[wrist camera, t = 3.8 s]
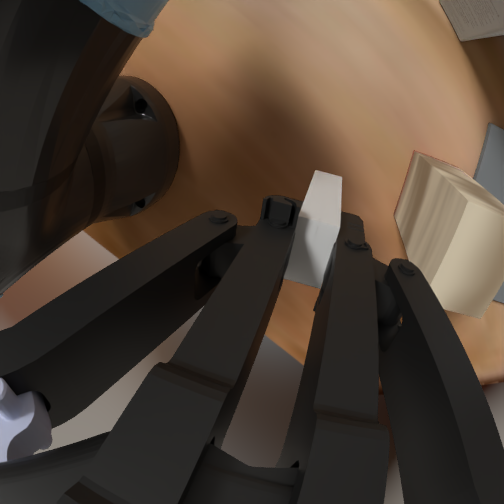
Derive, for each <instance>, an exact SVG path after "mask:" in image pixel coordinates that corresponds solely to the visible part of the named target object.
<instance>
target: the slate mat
mask: <svg viewBox="0 0 504 504" xmlns="http://www.w3.org/2000/svg"><path fill="white" fill-rule="evenodd" d="M473 179H474V180H475V181H476V182H478V183H479V184H480V185H481V186H482V187H484V188H485V189H486V190H487V191H488V192H490V193H491V194H492V195H493V196H494V197H495V198H497V199H498V200H499V201H500V202H501V203H502V204H503V205H504V130H503V129H501V128H499V127H498V126H496V125H494V124H492V123H489V124H488V129H487V133H486V137H485V140H484V144H483V148H482V151H481V155H480V158H479V162H478V165H477V168H476V171H475V174H474V177H473ZM493 300H495V301H498V302H502V303H504V282H503V283H502V285H501V287H500V289H499V290H498V292H497V294H496V295H495V297H494V299H493Z"/></svg>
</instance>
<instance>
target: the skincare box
mask: <svg viewBox="0 0 504 504" xmlns="http://www.w3.org/2000/svg"><path fill="white" fill-rule="evenodd" d="M439 2H440V4H441V5H442V7H443V9H444V11H445V13H446V15H447V17H448V18H449V20H450V22H451V24H452V26H453V28H454V30H455V32H456V34H457V36H458V38H459V40H460V41H468V40H474V39H481V38H487V37H494V36H501V35H504V0H439Z"/></svg>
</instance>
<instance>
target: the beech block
mask: <svg viewBox="0 0 504 504" xmlns="http://www.w3.org/2000/svg"><path fill="white" fill-rule="evenodd" d="M394 217H395V220H396V222H397V225H398V228H399V231H400V234H401V237H402V240H403V243H404V246H405V249H406V253H407V256H408V259H409V262H412V263H413V264H414V265H416V266H417V267H418V268H419V269H420V270H421V272H422V273H423V275H424V277H425V278H426V280H427V281H428V283H429V285H430V286H431V288H432V290H433V292H434V293H435V295H436V297H437V298H438V300H439V302H440V304H441V305H442V307H443V309H445V310H449V311H452V312H456V313H460V314H463V315H467V316H471V317H475V318H478V319H481V317H482V316H483V314H484V313H485V311H486V310H487V308H488V306H489V305H490V303H491V302H492V300H493V299H494V297H495V295H496V294H497V292H498V290H499V289H500V287H501V285H502V283H503V282H504V205H503V204H502V203H501V202H500V201H499V200H498V199H497V198H495V197H494V196H493V195H492V194H491V193H490V192H488V191H487V190H486V189H485V188H484V187H482V186H481V185H480V184H479V183H478V182H476V181H475V180H474V179H473V178H471V177H470V176H469V175H467V174H466V173H465V172H464V171H462V170H461V169H460V168H458V167H456V166H453V165H451V164H448V163H446V162H444V161H441V160H439V159H436V158H433V157H431V156H428V155H426V154H423V153H420V152H418V151H415V150H414V151H413V154H412V158H411V161H410V165H409V168H408V172H407V175H406V178H405V181H404V185H403V188H402V191H401V194H400V197H399V200H398V203H397V206H396V209H395V212H394Z"/></svg>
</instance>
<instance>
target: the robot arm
mask: <svg viewBox="0 0 504 504" xmlns="http://www.w3.org/2000/svg"><path fill="white" fill-rule="evenodd" d="M168 1H169V0H0V298H1V297H2V296H3V293H4V292H5V291H6V290H7V289H8V288H9V287H10V286H12V285H13V284H14V283H15V282H16V281H17V280H19V279H20V278H21V277H22V276H23V275H25V274H26V273H27V272H28V271H29V270H31V269H32V268H33V267H34V266H36V265H37V264H38V263H39V262H41V261H42V260H43V259H45V258H46V257H47V256H48V255H50V254H51V253H52V252H53V251H55V250H56V249H58V248H59V247H60V246H62V245H63V244H64V243H65V242H67V241H68V240H70V239H71V238H72V237H74V236H75V235H77V234H78V233H79V232H81V231H82V230H83V229H85V228H86V227H88V226H89V225H91V224H93V223H97V222H102V221H108V220H113V219H119V218H124V217H129V216H133V215H136V214H138V213H140V212H142V211H144V210H145V209H147V208H148V207H150V206H151V205H152V204H154V203H155V202H157V201H158V200H159V199H160V198H161V197H162V196H163V195H164V194H165V193H166V191H167V190H168V188H169V187H170V185H171V183H172V181H173V179H174V176H175V173H176V170H177V166H178V160H179V135H178V130H177V125H176V122H175V119H174V116H173V114H172V111H171V109H170V107H169V105H168V104H167V102H166V101H165V99H164V98H163V96H162V95H161V94H160V93H159V92H158V91H157V90H156V89H155V88H154V87H153V86H151V85H150V84H149V83H147V82H145V81H144V80H141V79H139V78H136V77H132V76H119V74H120V73H121V71H122V69H123V68H124V66H125V64H126V63H127V61H128V60H129V58H130V56H131V55H132V53H133V52H134V50H135V49H136V47H137V46H138V44H139V43H140V41H141V40H142V38H146V37H148V36H149V34H150V33H151V32H152V30H153V27H154V21H155V19H156V18H157V16H158V15H159V13H160V12H161V10H162V9H163V8H164V6H165V5H166V3H167V2H168ZM341 197H342V177H340V176H337V175H333V174H329V173H326V172H322V171H318V170H315V173H314V175H313V178H312V181H311V183H310V186H309V189H308V192H307V194H306V197H305V200H304V202H303V201H299V200H295V199H291V198H288V197H285V196H279V195H271V196H266V197H265V198H264V199H263V205H262V211H261V217H260V220H259V222H258V223H257V225H256V226H239V225H237V218H236V217H235V216H234V215H233V214H231V213H228V212H225V211H222V210H215V211H208V212H205V213H203V214H201V215H199V216H197V217H195V218H193V219H192V220H190V221H188V222H186V223H184V224H182V225H180V226H178V227H177V228H175V229H173V230H171V231H169V232H167V233H165V234H164V235H162V236H160V237H158V238H156V239H155V240H153V241H151V242H149V243H147V244H146V245H144V246H142V247H140V248H138V249H137V250H135V251H133V252H131V253H130V254H128V255H126V256H124V257H123V258H121V259H119V260H118V261H116V262H114V263H112V264H111V265H109V266H107V267H106V268H104V269H102V270H101V271H99V272H97V273H96V274H94V275H92V276H91V277H89V278H87V279H86V280H84V281H83V282H81V283H79V284H77V285H76V286H74V287H73V288H71V289H69V290H68V291H66V292H65V293H63V294H61V295H60V296H58V297H57V298H55V299H53V300H52V301H50V302H49V303H47V304H46V305H44V306H43V307H41V308H40V309H38V310H36V311H35V312H33V313H32V314H30V315H29V316H28V317H26V318H24V319H23V320H22V321H20V322H18V323H17V324H16V325H14V326H13V327H10V328H7V329H4V330H2V331H0V504H383V503H384V497H385V488H386V479H387V470H388V458H389V431H388V429H387V427H386V426H385V425H381V424H379V422H378V416H377V414H378V386H379V377H380V381H381V385H382V389H383V393H384V397H385V401H386V405H387V410H388V414H389V419H390V423H391V428H392V433H393V438H394V443H395V449H396V454H397V460H398V465H399V471H400V477H401V484H402V490H403V498H404V504H504V448H503V446H502V442H501V439H500V436H499V433H498V430H497V427H496V424H495V421H494V418H493V415H492V413H491V410H490V407H489V405H488V402H487V400H486V397H485V395H484V392H483V390H482V387H481V385H480V382H479V380H478V378H477V375H476V373H475V371H474V369H473V366H472V364H471V362H470V360H469V358H468V356H467V354H466V352H465V349H464V347H463V345H462V343H461V341H460V339H459V337H458V335H457V333H456V331H455V330H454V328H453V326H452V324H451V322H450V320H449V318H448V316H447V315H446V313H445V311H444V309H443V307H442V305H441V304H440V302H439V300H438V298H437V297H436V295H435V293H434V292H433V290H432V288H431V286H430V285H429V283H428V281H427V280H426V278H425V277H424V275H423V273H422V272H421V270H420V269H419V268H418V267H417V266H416V265H414V264H413V263H412V262H409V261H408V260H406V259H405V260H404V259H399V258H395V259H392V260H391V262H390V264H389V266H387V265H385V264H383V263H381V262H379V261H377V260H376V259H374V258H373V257H372V249H371V247H370V245H369V244H368V243H367V242H365V235H364V228H363V227H364V226H363V221H362V220H361V219H360V217H359V216H357V215H353V214H350V213H346V212H343V211H341ZM283 278H284V279H287V280H291V281H294V282H298V283H301V284H305V285H309V286H312V287H316V288H319V289H320V288H321V290H320V293H319V295H318V298H317V301H316V304H315V306H314V309H313V311H315V316H314V321H313V326H312V331H311V336H310V341H309V346H308V350H307V355H306V359H305V364H304V368H303V373H302V377H301V381H300V385H299V389H298V394H297V398H296V402H295V406H294V410H293V414H292V417H291V421H290V425H289V428H288V432H287V436H286V440H285V443H284V446H283V450H282V453H281V456H280V458H279V460H278V462H277V464H276V467H275V468H264V467H251V466H248V465H246V464H244V463H243V462H241V461H239V460H237V459H236V458H234V457H232V456H231V455H229V454H227V453H226V452H224V451H222V450H221V446H222V443H223V440H224V438H225V435H226V432H227V430H228V428H229V425H230V423H231V420H232V418H233V415H234V413H235V410H236V408H237V405H238V402H239V400H240V397H241V395H242V392H243V390H244V387H245V385H246V382H247V379H248V377H249V374H250V372H251V369H252V366H253V364H254V361H255V358H256V356H257V353H258V350H259V347H260V345H261V342H262V339H263V337H264V334H265V331H266V329H267V326H268V323H269V320H270V317H271V315H272V312H273V309H274V306H275V303H276V301H277V298H278V295H279V292H280V289H281V286H282V282H283ZM322 282H323V283H322ZM321 285H322V287H321ZM205 304H206V305H205ZM204 305H205V306H204ZM203 306H204V308H203V309H202V311H201V312H200V314H199V316H198V317H197V319H196V320H195V322H194V324H193V325H192V327H191V329H190V330H189V331H188V333H187V335H186V337H185V338H184V340H183V341H182V343H181V344H180V346H179V348H178V349H177V351H176V352H175V354H174V356H173V357H172V358H171V360H170V361H169V362H168V363H162V362H159V363H158V364H156V365H155V366H154V367H153V368H152V369H151V371H150V372H149V373H148V375H147V376H146V378H145V379H144V381H143V382H142V384H141V385H140V387H139V388H138V390H137V391H136V393H135V395H134V396H133V398H132V399H131V401H130V402H129V404H128V405H127V407H126V408H125V410H124V411H123V413H122V415H121V416H120V418H119V419H118V421H117V422H116V424H115V425H114V427H113V429H112V430H111V431H110V432H106V433H102V434H100V435H97V436H94V437H91V438H88V439H85V440H82V441H79V442H76V443H73V444H70V445H66V446H63V447H60V448H57V449H53V450H49V451H46V452H42V453H38V454H35V455H33V454H34V452H36V451H37V450H39V449H43V450H44V449H47V448H49V447H50V446H51V443H52V435H51V429H52V428H54V427H57V426H59V425H61V424H63V423H65V422H67V421H68V420H70V419H72V418H73V417H75V416H76V415H77V414H79V413H80V412H82V411H83V410H84V409H86V408H87V407H88V406H89V405H90V404H92V403H93V402H94V401H95V400H96V399H97V398H98V397H100V396H101V395H102V394H103V393H104V392H105V391H107V390H108V389H109V388H110V387H111V386H112V385H114V384H115V383H116V382H117V381H118V380H119V379H120V378H122V377H123V376H124V375H125V374H126V373H127V372H129V371H130V370H131V369H132V368H133V367H134V366H136V365H137V364H138V363H139V362H140V361H141V360H142V359H144V358H145V357H146V356H147V355H148V354H149V353H150V352H152V351H153V350H154V349H155V348H156V347H157V346H159V345H160V344H161V343H162V342H163V341H164V340H165V339H167V338H168V337H169V336H170V335H171V334H172V333H173V332H175V331H176V330H177V329H178V328H179V327H180V326H181V325H183V324H184V323H185V322H186V321H187V320H188V319H189V318H191V317H192V316H193V315H194V314H195V313H196V312H197V311H198V310H199V309H201V308H202V307H203ZM401 317H402V324H401V322H400V319H401Z"/></svg>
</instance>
